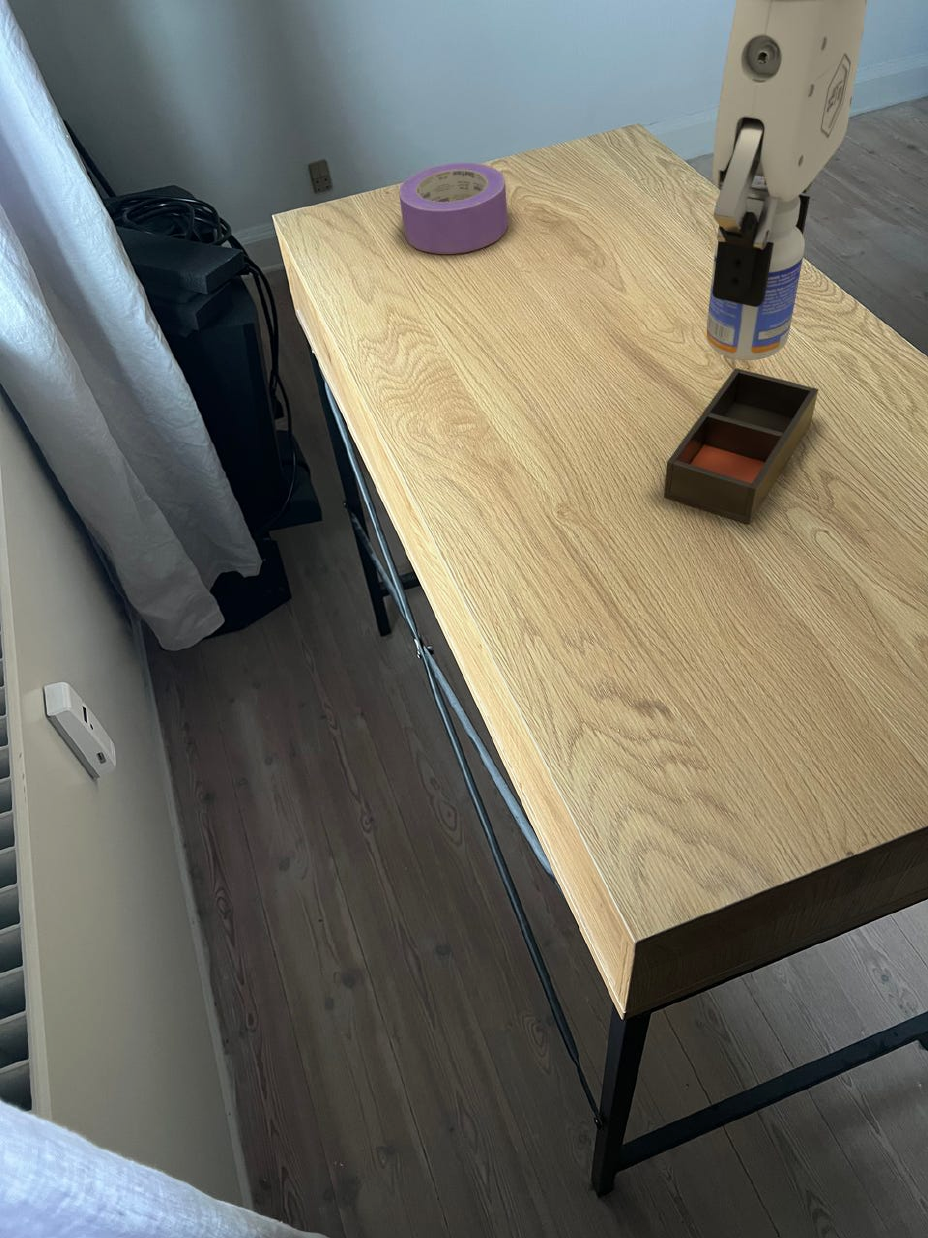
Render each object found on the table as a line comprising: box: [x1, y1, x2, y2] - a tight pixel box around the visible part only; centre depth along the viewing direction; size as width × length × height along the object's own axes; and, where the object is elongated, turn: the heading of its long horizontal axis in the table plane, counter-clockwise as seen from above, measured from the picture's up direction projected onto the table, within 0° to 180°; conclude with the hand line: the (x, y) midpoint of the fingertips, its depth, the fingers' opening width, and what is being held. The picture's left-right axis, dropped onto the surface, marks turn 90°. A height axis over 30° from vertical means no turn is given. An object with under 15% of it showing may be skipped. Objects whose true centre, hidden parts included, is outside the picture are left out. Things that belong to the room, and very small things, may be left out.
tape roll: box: [398, 162, 509, 255], centre depth 103 cm, size 12×12×5 cm
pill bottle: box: [706, 184, 806, 361], centre depth 60 cm, size 5×5×10 cm
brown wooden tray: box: [663, 367, 819, 525], centre depth 74 cm, size 7×14×4 cm, turn 147°
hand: (756, 273), depth 60 cm, fingers closed on pill bottle, 5 cm apart
